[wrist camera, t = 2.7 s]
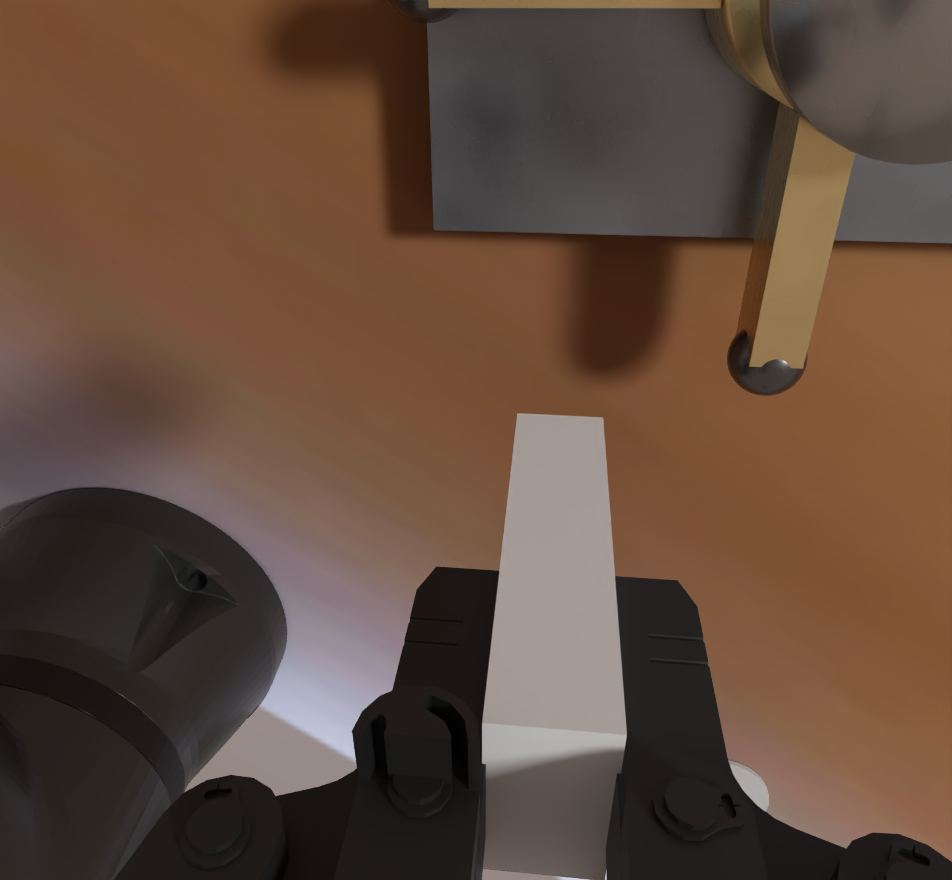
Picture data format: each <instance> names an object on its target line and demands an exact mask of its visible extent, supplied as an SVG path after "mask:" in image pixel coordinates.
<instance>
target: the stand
mask: <svg viewBox="0 0 952 880" xmlns="http://www.w3.org/2000/svg"><path fill="white" fill-rule="evenodd" d="M427 38H428V70H429V101H430V133H431V165H432V196H433V228H434V230H443V231H482V232H522V233H562V234H601V235H641V236H681V237H720V238H754V236H755V231H756V226H757V220H758V215H759V210H760V204H761V199H762V194H763V189H764V183H765V178H766V173H767V167H768V162H769V157H770V151H771V146H772V141H773V135H774V130H775V125H776V119H777V114H778V109H779V104H780V101H778V100H776V99H775V98H773V97H771V96H770V95H768V94H767V93H765V92H763V91H762V90H760V89H759V88H757V87H755V86H754V85H752V84H750V83H749V82H747V81H746V80H744V79H743V78H742V77H741V76H740V75H738V74H737V73H736V72H735V71H734V70H733V69H732V68H731V67H730V66H729V65H728V63H727V62H726V61H725V60H724V58H723V57H722V55H721V54H720V52H719V51H718V49H717V47H716V45H715V43H714V41H713V38H712V36H711V34H710V30H709V27H708V24H707V20H706V15H705V9H704V8H459V9H458V10H457V11H456V12H455V13H454V14H452V15H451V16H450V17H448V18H446V19H445V20H442V21H439V22H435V23H427ZM834 240H839V241H879V242H918V243H952V161H949V162H943V163H937V164H920V165H908V164H896V163H888V162H884V161H879V160H875V159H870V158H867V157H865V156H862V155H860V154H857V153H855V156H854V161H853V165H852V169H851V173H850V177H849V181H848V185H847V189H846V193H845V198H844V202H843V206H842V210H841V214H840V218H839V222H838V226H837V230H836V235H835V239H834Z"/></svg>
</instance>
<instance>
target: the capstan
mask: <svg viewBox="0 0 952 880" xmlns="http://www.w3.org/2000/svg"><path fill="white" fill-rule="evenodd" d="M389 1H390V3H391V4H392V5H393V6H394V8H395V9H396V10H397V11H398V12H399V13H401V14H402V15H403V16H405V17H407V18H408V19H410V20H413V21H416V22H420V23H435V22H439V21H442V20H445V19H446V18H448V17H450V16H451V15H452V14H454V13H455V12H456V11H457V10H458V9H459V8H704V9H705V15H706V20H707V24H708V27H709V30H710V34H711V36H712V38H713V41H714V43H715V45H716V47H717V49H718V51H719V52H720V54H721V55H722V57H723V58H724V60H725V61H726V62H727V63H728V65H729V66H730V67H731V68H732V69H733V70H734V71H735V72H736V73H737V74H738V75H740V76H741V77H742V78H743V79H744V80H746V81H747V82H749V83H750V84H752V85H754V86H755V87H757V88H759V89H760V90H762V91H763V92H765V93H767V94H768V95H770V96H771V97H773V98H775V99H776V100H778V101H780V104H779V109H778V114H777V119H776V125H775V130H774V135H773V141H772V146H771V151H770V157H769V162H768V167H767V173H766V178H765V183H764V189H763V194H762V199H761V204H760V210H759V215H758V220H757V226H756V231H755V236H754V242H753V247H752V252H751V258H750V263H749V268H748V274H747V279H746V284H745V289H744V295H743V300H742V305H741V311H740V316H739V321H738V327H737V332H736V336H735V337H734V339H733V340H732V342H731V344H730V347H729V350H728V355H727V364H728V369H729V372H730V374H731V376H732V378H733V379H734V381H735V382H736V383H737V384H738V385H739V386H740V387H741V388H743V389H744V390H746V391H748V392H750V393H753V394H756V395H764V396H769V395H775V394H779V393H782V392H784V391H786V390H788V389H789V388H791V387H792V386H793V385H795V384H796V383H797V382H798V380H799V379H800V378H801V376H802V375H803V373H804V371H805V368H806V364H807V350H808V345H809V341H810V337H811V333H812V329H813V325H814V321H815V317H816V313H817V308H818V304H819V300H820V296H821V292H822V288H823V284H824V280H825V276H826V272H827V267H828V263H829V259H830V255H831V251H832V247H833V243H834V239H835V235H836V230H837V226H838V222H839V218H840V214H841V210H842V206H843V202H844V198H845V193H846V189H847V185H848V181H849V177H850V173H851V169H852V165H853V161H854V156H855V153H857V154H860V155H862V156H865V157H867V158H870V159H875V160H879V161H884V162H888V163H896V164H908V165H920V164H937V163H943V162H949V161H952V0H389Z"/></svg>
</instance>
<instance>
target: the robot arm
mask: <svg viewBox="0 0 952 880" xmlns="http://www.w3.org/2000/svg"><path fill="white" fill-rule="evenodd" d="M286 642H287V625H286V618H285V613H284V610H283V606H282V603H281V601H280V598H279V596H278V594H277V592H276V590H275V588H274V586H273V584H272V583H271V581H270V579H269V578H268V576H267V575H266V574H265V572H264V571H263V569H262V568H261V567H260V566H259V564H258V563H257V562H256V561H255V560H254V559H253V558H252V557H251V555H250V554H249V553H248V552H247V551H246V550H245V549H243V548H242V547H241V546H240V545H239V544H238V543H237V542H236V541H234V540H233V539H232V538H231V537H230V536H228V535H227V534H226V533H224V532H223V531H222V530H220V529H219V528H217V527H216V526H214V525H213V524H211V523H209V522H208V521H206V520H204V519H203V518H201V517H199V516H197V515H195V514H193V513H191V512H189V511H187V510H185V509H183V508H181V507H178V506H176V505H174V504H171V503H168V502H166V501H163V500H160V499H157V498H154V497H150V496H146V495H143V494H138V493H133V492H129V491H122V490H114V489H78V490H70V491H65V492H60V493H56V494H53V495H50V496H47V497H44V498H42V499H40V500H38V501H35V502H34V503H32V504H30V505H29V506H27V507H26V508H24V509H23V510H22V511H20V512H19V513H18V514H17V515H16V516H15V517H14V518H13V519H12V520H11V521H10V522H9V523H8V524H7V525H6V526H5V527H4V528H3V529H2V530H1V531H0V880H482V871H483V869H491V870H501V871H511V872H521V873H531V874H541V875H551V876H561V877H571V878H580V879H590V880H605V874H606V870H607V880H952V862H951V861H950V860H948V859H947V858H945V857H944V856H942V855H941V854H940V853H938V852H937V851H935V850H934V849H932V848H931V847H930V846H928V845H926V844H924V843H921V842H918V841H916V840H913V839H910V838H908V837H905V836H902V835H900V834H887V833H871V834H868V835H866V836H863V837H861V838H858V839H856V840H853V841H852V842H851V843H850V845H849V846H848V847H847V849H846V848H843V847H840V846H838V845H835V844H833V843H830V842H828V841H825V840H823V839H820V838H818V837H815V836H812V835H810V834H807V833H805V832H802V831H800V830H797V829H795V828H793V827H791V826H789V825H787V824H785V823H783V822H781V821H779V820H777V819H775V818H773V817H772V816H771V815H769V814H768V813H767V812H765V811H764V810H763V809H761V808H760V807H759V806H757V805H756V804H755V803H754V802H753V800H752V799H751V798H750V797H749V796H748V795H747V794H746V793H745V792H744V791H743V790H742V788H741V786H740V785H739V783H738V781H737V780H736V778H735V777H734V775H733V773H732V770H731V767H730V764H729V761H728V758H727V753H726V748H725V743H724V738H723V733H722V728H721V723H720V718H719V713H718V708H717V703H716V698H715V693H714V688H713V683H712V678H711V673H710V668H709V667H708V658H707V653H706V648H705V643H704V642H703V633H702V628H701V623H700V618H699V613H698V608H697V606H696V604H695V603H694V602H693V600H692V599H691V598H690V596H689V595H688V594H687V592H686V591H685V590H684V588H683V587H682V586H681V584H680V583H679V582H678V580H663V579H648V578H633V577H617V576H615V570H614V557H613V544H612V531H611V517H610V504H609V491H608V478H607V464H606V451H605V438H604V424H603V418H602V417H582V416H561V415H540V414H519V413H517V422H516V431H515V439H514V448H513V457H512V466H511V474H510V483H509V492H508V501H507V510H506V518H505V527H504V536H503V545H502V553H501V562H500V571H494V570H479V569H464V568H449V567H436V568H435V569H434V570H433V571H432V572H431V574H430V575H429V576H428V577H427V578H426V580H425V581H424V582H423V583H422V584H421V585H420V587H419V588H418V589H417V591H416V595H415V599H414V604H413V608H412V612H411V616H410V623H409V624H408V628H407V632H406V637H405V644H404V646H403V649H402V653H401V657H400V661H399V665H398V669H397V674H396V678H395V682H394V686H393V690H392V691H391V692H388V693H386V694H383V695H381V696H379V697H378V698H377V699H376V700H375V701H374V702H372V703H371V704H370V705H369V706H368V707H367V708H365V709H364V710H363V711H362V713H361V715H360V717H359V719H358V721H357V723H356V724H355V726H354V728H353V730H352V734H353V741H354V749H355V756H356V764H357V769H356V770H354V771H353V772H351V773H350V774H348V775H346V776H344V777H343V778H341V779H339V780H338V781H335V782H332V783H329V784H326V785H323V786H320V787H315V788H311V789H307V790H302V791H297V792H293V793H288V794H284V795H279V796H275V795H274V793H273V791H272V790H271V789H270V788H269V787H267V786H265V785H264V784H262V783H261V782H259V781H258V780H256V779H254V778H250V777H242V776H234V775H229V776H224V777H220V778H215V779H210V780H206V781H205V782H203V783H201V784H199V785H197V786H195V787H194V788H192V789H190V790H188V791H186V792H185V790H186V787H187V786H188V784H189V783H190V782H191V780H192V779H193V778H194V777H195V776H196V775H197V774H198V773H199V772H200V770H201V769H202V768H203V767H204V766H205V765H206V764H207V763H208V762H209V761H210V760H211V759H212V758H213V756H214V755H215V754H216V753H217V752H218V751H219V750H220V749H221V748H222V747H223V745H224V744H225V743H226V742H227V741H228V740H229V739H230V738H231V736H232V735H233V734H234V733H235V732H236V731H237V730H238V728H239V727H240V726H241V725H242V724H243V723H244V721H245V720H246V719H247V718H249V717H250V716H251V715H252V714H253V712H254V711H255V710H256V709H257V708H258V707H259V705H260V704H261V703H262V701H263V700H264V698H265V696H266V695H267V693H268V691H269V689H270V687H271V685H272V682H273V680H274V677H275V675H276V672H277V670H278V668H279V665H280V663H281V660H282V658H283V655H284V652H285V648H286ZM184 792H185V793H184Z"/></svg>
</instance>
